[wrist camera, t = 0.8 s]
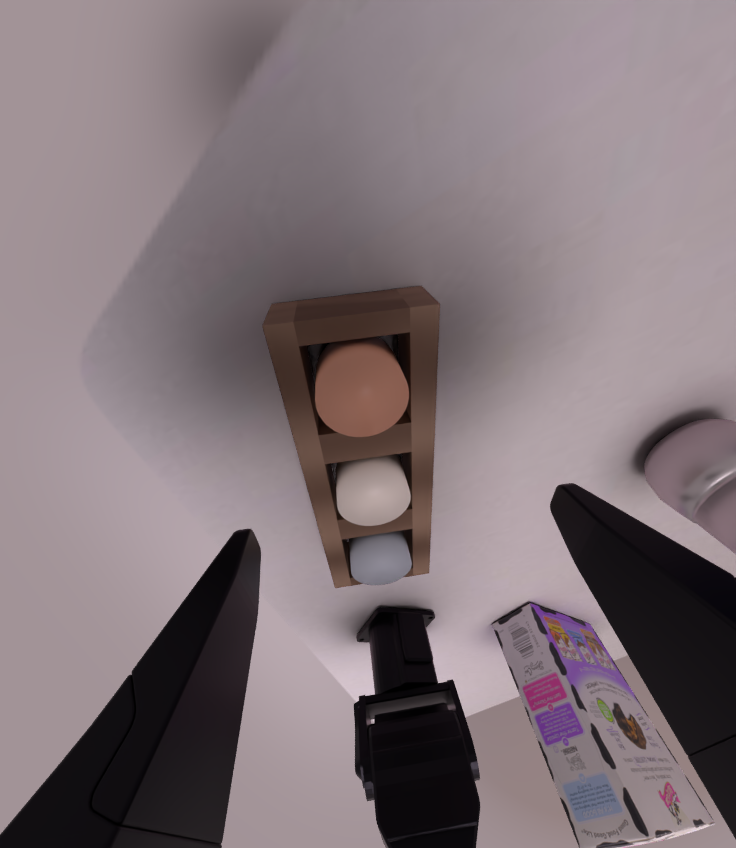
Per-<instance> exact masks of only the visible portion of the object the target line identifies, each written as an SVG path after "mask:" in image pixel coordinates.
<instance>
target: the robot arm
mask: <svg viewBox="0 0 736 848" xmlns="http://www.w3.org/2000/svg"><path fill="white" fill-rule="evenodd" d="M550 509H551V513H552V515H553V517H554V519H555V522H556V524H557V526H558V528H559V530H560V532H561V535H562V537H563V539H564V541H565V543H566V546H567V548H568V550H569V552H570V554H571V556H572V558H573V560H574V562H575V564H576V566H577V568H578V570H579V572H580V573H581V575H582V577H583V578H584V580H585V582H586V584H587V585H588V587H589V589H590V590H591V592H592V594H593V595H594V597H595V599H596V601H597V602H598V604H599V606H600V607H601V609H602V611H603V613H604V614H605V616H606V618H607V619H608V621H609V623H610V625H611V626H612V628H613V630H614V631H615V633H616V635H617V637H618V638H619V640H620V642H621V643H622V645H623V647H624V648H625V650H626V652H627V654H628V655H629V657H630V659H631V660H632V662H633V664H634V666H635V667H636V669H637V671H638V672H639V674H640V676H641V678H642V679H643V681H644V683H645V684H646V686H647V687H648V690H649V691H650V693H651V694H652V696H653V698H654V700H655V702H656V703H657V705H658V706H659V708H660V710H661V712H662V713H663V715H664V717H665V719H666V720H667V722H668V724H669V725H670V727H671V729H672V731H673V732H674V734H675V736H676V737H677V739H678V741H679V743H680V744H681V746H682V747H683V749H684V751H685V753H686V754H687V755H688V758H689V760H690V762H691V764H692V765H693V767H694V769H695V770H696V772H697V774H698V775H699V777H700V779H701V781H702V782H703V784H704V786H705V787H706V789H707V791H708V793H709V794H710V796H711V798H712V799H713V801H714V803H715V805H716V806H717V808H718V810H719V811H720V813H721V815H722V817H723V818H724V820H725V822H726V823H727V825H728V827H729V828H730V830H731V832H732V834H733V835H734V837H735V839H736V577H735V578H734V576H733V575H732V574H730V573H729V572H727V571H725V570H723V569H722V568H720V567H718V566H716V565H715V564H713V563H711V562H710V561H708V560H706V559H704V558H703V557H701V556H699V555H697V554H696V553H694V552H692V551H691V550H689V549H687V548H685V547H684V546H682V545H680V544H678V543H677V542H675V541H673V540H671V539H670V538H668V537H666V536H665V535H663V534H661V533H659V532H658V531H656V530H654V529H652V528H651V527H649V526H647V525H646V524H644V523H642V522H640V521H639V520H637V519H635V518H633V517H632V516H630V515H628V514H626V513H625V512H623V511H621V510H620V509H618V508H616V507H614V506H613V505H611V504H609V503H607V502H606V501H604V500H602V499H601V498H599V497H597V496H595V495H594V494H592V493H590V492H588V491H587V490H585V489H583V488H582V487H580V486H578V485H576V484H573V483H569V484H562V485H559V486H557V488H556V490H555V493H554V495H553V498H552V501H551V503H550ZM260 563H261V550H260V546H259V543H258V541H257V539H256V537H255V534H254V532H253V531H252V530H251V529H243V530H238V531H236V532H234V533H233V535H232V536H231V537H230V539H229V540H228V541H227V543H226V544H225V545H224V547H223V548H222V549H221V551H220V553H219V554H218V555H217V556H216V558H215V559H214V560H213V562H212V563H211V564H210V566H209V567H208V569H207V570H206V571H205V573H204V574H203V575H202V577H201V578H200V579H199V581H198V582H197V583H196V585H195V586H194V588H193V589H192V590H191V592H190V593H189V595H188V596H187V597H186V598H185V600H184V601H183V602H182V604H181V605H180V607H179V608H178V609H177V611H176V612H175V613H174V615H173V616H172V617H171V619H170V620H169V621H168V623H167V624H166V626H165V627H164V628H163V630H162V631H161V632H160V634H159V635H158V637H157V638H156V639H155V640H154V642H153V643H152V645H151V646H150V647H149V649H148V650H147V651H146V653H145V654H144V656H143V657H142V658H141V659H140V661H139V662H138V664H137V665H136V666H135V668H134V669H133V670H132V675H129V676H128V677H127V678H126V680H125V681H124V682H123V684H122V685H121V687H120V688H119V689H118V690H117V692H116V693H115V695H114V696H113V697H112V699H111V700H110V701H109V702H108V704H107V705H106V706H105V708H104V709H103V710H102V712H101V713H100V714H99V715H98V717H97V718H96V719H95V721H94V722H93V723H92V725H91V726H90V727H89V728H88V730H87V731H86V732H85V733H84V735H83V736H82V737H81V738H80V740H79V741H78V742H77V743H76V744H75V746H74V747H73V748H72V749H71V751H70V752H69V753H68V754H67V755H66V757H65V758H64V759H63V760H62V762H61V763H60V764H59V765H58V766H57V768H56V769H55V770H54V771H53V772H52V774H51V775H50V776H49V777H48V778H47V779H46V781H45V782H44V783H43V784H42V785H41V787H40V788H39V789H38V790H37V791H36V793H35V794H34V795H33V796H32V797H31V799H30V800H29V801H28V802H27V803H26V805H25V806H24V807H23V808H22V809H21V811H20V812H19V813H18V814H17V815H16V817H15V818H14V819H13V820H12V821H11V822H10V824H9V825H8V826H7V827H6V829H5V830H4V831H3V832H2V833H1V834H0V848H221V847H222V846H221V843H222V839H223V833H224V827H225V821H226V814H227V808H228V802H229V795H230V789H231V782H232V776H233V769H234V763H235V757H236V751H237V744H238V737H239V731H240V725H241V718H242V711H243V706H244V700H245V693H246V687H247V681H248V674H249V668H250V660H251V654H252V649H253V642H254V636H255V630H256V623H257V616H258V604H259V584H260ZM434 618H435V614H434V612H432V611H421V610H408V609H395V608H378V609H377V610H376V611H375V612H374V614H373V615H372V616H371V618H370V619H369V620H368V622H367V623H366V624H365V626H364V627H363V628H362V630H361V631H360V632H359V634H358V635H357V641H358V642H370V651H371V660H372V670H373V679H374V688H375V695H370V696H365V695H363V696H359V701H358V702H356V703H355V704H354V716H355V772H356V774H357V776H358V777H359V778H360V779H361V780H362V783H363V788H365V793H366V799H367V801H371V800H375V812H376V821H377V825H378V828H379V831H380V834H381V837H382V840H383V842H384V845H385V847H386V848H476V841H477V831H478V822H479V813H480V801H479V796H478V792H477V788H476V784H475V781H476V780H479V779H480V775H479V768H478V763H477V757H476V753H475V749H474V745H473V741H472V738H471V734H470V731H469V728H468V725H467V722H466V718H465V715H464V712H463V709H462V706H461V703H460V700H459V697H458V694H457V690H456V687H455V684H454V681H453V680H447V682H443V683H438V681H437V676H436V672H435V668H434V664H433V656H432V651H431V647H430V643H429V639H428V635H427V630H426V627H427V626H428V625H429V624H430V623H431V621H432V620H433V619H434ZM371 719H375V723H374V724H371Z"/></svg>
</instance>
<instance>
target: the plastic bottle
mask: <svg viewBox="0 0 736 848" xmlns="http://www.w3.org/2000/svg"><path fill="white" fill-rule="evenodd" d="M644 469H645V476H646V481H647V482H648V484H649V485H650V487H651V488H652V489H653V490H654V492H655V493H656V494H657V496H658V497H659V498H660V500H662V501H663V502H665V503H666V504H667V505H669V506H670V507H671V508H673V509H674V510H675V511H677V512H678V513H680V514H681V515H683V516H684V517H686V518H687V519H689V520H691V521H692V522H694V523H696V524H698V525H699V526H700V527H702V528H703V529H704V530H705V531H707V532H708V533H709V534H711V535H712V536H713V537H714V538H716V539H717V540H718V541H719V542H721V543H722V544H723V545H725V546H726V547H727V548H728V549H730V550H731V551H732V552H733V553H735V554H736V422H734V421H732V420H725V419H702V420H698V421H694V422H691V423H688V424H686V425H684V426H682V427H680V428H678V429H676V430H674V431H673V432H671V433H670V434H668V435H667V436H666V437H664V438H663V439H662V440H661V441H660V442H658V443H657V444H656V445H655V446H654V448H653V449H652V450H651V451H650V453H649V454H648V456H647V458H646V460H645V464H644Z"/></svg>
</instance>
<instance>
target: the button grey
mask: <svg viewBox="0 0 736 848" xmlns="http://www.w3.org/2000/svg"><path fill="white" fill-rule="evenodd" d="M349 550H350V563H351V574H352V576H353V578H354V579H355V580H357V581H358V582H360V583H363V584H367V585H384V584H388V583H392V582H395V581H397V580H399V579H401V578H402V577H404V576H405V575H406V574H407V573H408V572H409V571H410V569H411V566H412V561H411V557H410V553H409V549H408V545H407V541H406V537H405V533H404V530H401V531H394V532H387V533H381V534H374V535H368V536H361V537H355V538H349Z"/></svg>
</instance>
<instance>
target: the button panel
mask: <svg viewBox="0 0 736 848" xmlns="http://www.w3.org/2000/svg"><path fill="white" fill-rule="evenodd" d="M439 314H440V304H439V303H438V302H437V301H436V300H435V299H434V298H433V297H432V296H431V295H430V294H429V293H428V292H427V291H426V290H425V289H424V288H423V287H422V286H416V287H407V288H399V289H391V290H383V291H374V292H366V293H358V294H349V295H341V296H333V297H325V298H316V299H308V300H300V301H292V302H283V303H275V304H271V306H270V309H269V311H268V314H267V316H266V318H265V321H264V323H263V325H262V327H263V330H264V334H265V337H266V341H267V345H268V348H269V352H270V355H271V359H272V363H273V366H274V370H275V373H276V377H277V381H278V384H279V388H280V391H281V395H282V399H283V402H284V406H285V409H286V413H287V417H288V420H289V424H290V427H291V431H292V435H293V438H294V442H295V445H296V449H297V453H298V456H299V460H300V463H301V467H302V471H303V474H304V478H305V481H306V485H307V489H308V492H309V496H310V499H311V503H312V507H313V510H314V514H315V517H316V521H317V525H318V528H319V532H320V535H321V539H322V543H323V546H324V550H325V553H326V557H327V561H328V564H329V568H330V571H331V575H332V579H333V582H334V586H335V588H339V587H346V586H352V585H358V584H363V583H360V582H358V581H357V580H355V579H354V578H353V576H352V574H351V563H350V550H349V542H347V539H348V538H355V537H361V536H368V535H374V534H381V533H387V532H394V531H401V530H404V531H405V537H406V541H407V545H408V549H409V553H410V557H411V561H412V566H411V569H410V571H409V572H408V573H407V574H406V575H405V576H404V577H409V576H415V575H421V574H427V573H429V563H430V538H431V513H432V488H433V463H434V438H435V413H436V389H437V364H438V339H439ZM392 334H398V359H399V365H400V368H401V370H402V372H403V374H404V377H405V379H406V381H407V384H408V388H409V400H408V404H407V407H406V410H405V411H404V413H403V415H402V416H401V418H400V419H399V420H398V421H397V422H396V423H395V424H394V425H393V426H392V427H390V428H389V429H387V430H385V431H383V432H381V433H379V434H376V435H373V436H368V437H351V436H346V435H343V434H340V433H338V432H336V431H334V430H333V429H331V428H330V427H328V426H327V425H326V424H325V423H324V422H323V420H322V419H321V417H320V416H319V414H318V412H317V409H316V404H315V383H314V378H313V373H312V368H311V363H310V358H309V354H308V349H307V345H313V344H321V343H329V342H337V341H345V340H353V339H360V338H368V337H376V336H384V335H392ZM400 453H402V467H403V470H404V473H405V477H406V480H407V484H408V487H409V490H410V495H411V499H410V503H409V506H408V507H407V509H406V510H405V511H404V513H402V514H401V515H400V516H399V517H398V518H396V519H394V520H392V521H390V522H388V523H385V524H381V525H375V526H362V525H357V524H354V523H351V522H349V521H347V520H346V519H344V518H343V517H342V516H341V514H340V513H339V511H338V508H337V495H336V484H335V480H334V476H333V471H332V466H331V463H337V462H344V461H351V460H358V459H365V458H372V457H379V456H386V455H393V454H400Z"/></svg>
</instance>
